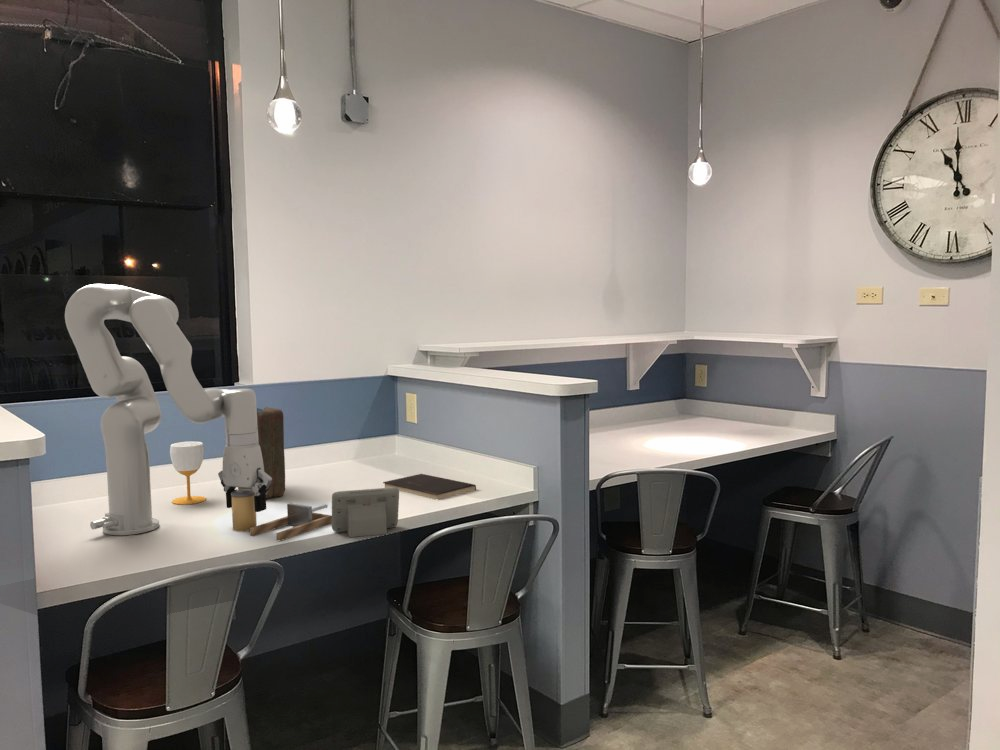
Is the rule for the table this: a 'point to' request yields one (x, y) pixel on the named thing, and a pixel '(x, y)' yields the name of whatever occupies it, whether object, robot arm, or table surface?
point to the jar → (243, 510)
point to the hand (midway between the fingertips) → (246, 508)
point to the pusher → (301, 513)
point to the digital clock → (365, 511)
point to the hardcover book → (430, 486)
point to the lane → (316, 522)
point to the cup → (187, 466)
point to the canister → (272, 448)
